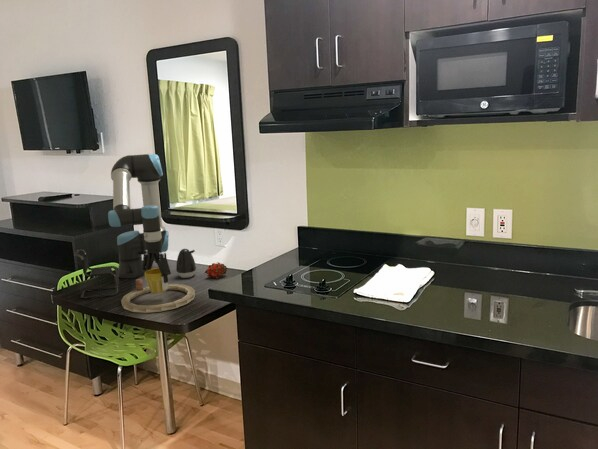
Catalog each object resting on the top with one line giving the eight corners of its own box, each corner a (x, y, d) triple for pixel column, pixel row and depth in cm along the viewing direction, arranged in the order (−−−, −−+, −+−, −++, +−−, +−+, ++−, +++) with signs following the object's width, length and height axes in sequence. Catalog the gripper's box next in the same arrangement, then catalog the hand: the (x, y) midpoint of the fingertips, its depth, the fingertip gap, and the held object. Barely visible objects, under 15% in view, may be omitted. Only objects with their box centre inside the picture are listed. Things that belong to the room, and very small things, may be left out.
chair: (82, 291, 241) (76, 248, 236) (119, 287, 246) (114, 244, 241) (79, 300, 229) (73, 255, 224) (118, 295, 234) (113, 250, 229)
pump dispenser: (194, 279, 253) (192, 250, 250) (174, 279, 254) (172, 251, 251) (199, 273, 263) (196, 246, 260) (179, 274, 264) (177, 246, 261)
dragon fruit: (229, 278, 257) (207, 285, 253) (225, 266, 262) (203, 272, 259) (228, 269, 250) (205, 275, 247) (224, 256, 256) (201, 263, 252)
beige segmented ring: (108, 303, 222) (106, 288, 221) (165, 283, 247) (164, 270, 245) (151, 317, 203) (149, 301, 201) (209, 295, 227) (207, 280, 226)
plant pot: (145, 289, 226) (143, 269, 225) (168, 286, 230) (166, 266, 229) (148, 296, 217) (145, 275, 215) (171, 292, 221) (169, 271, 219)
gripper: (130, 239, 223) (136, 285, 227) (162, 244, 209) (166, 294, 214) (144, 235, 229) (149, 281, 233) (176, 241, 215) (180, 289, 219)
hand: (157, 287), depth 223 cm, fingers closed on plant pot, 10 cm apart
